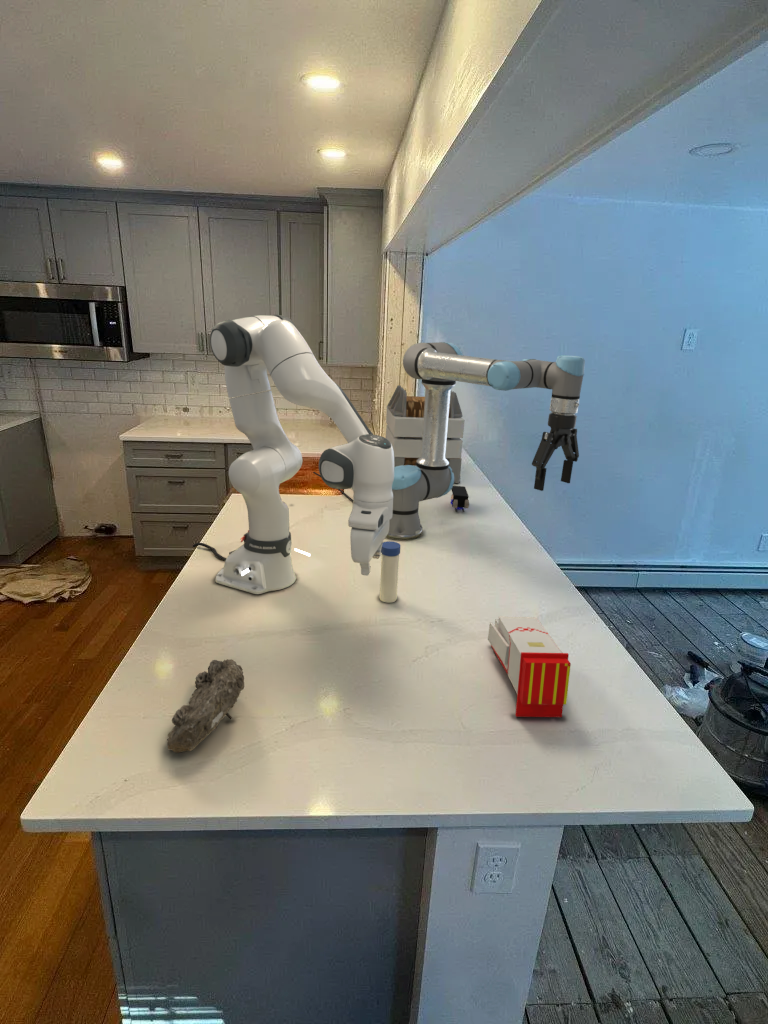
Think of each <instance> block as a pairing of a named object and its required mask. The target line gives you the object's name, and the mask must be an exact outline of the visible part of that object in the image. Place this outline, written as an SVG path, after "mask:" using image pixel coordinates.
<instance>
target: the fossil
mask: <svg viewBox="0 0 768 1024" xmlns="http://www.w3.org/2000/svg"><path fill="white" fill-rule="evenodd" d="M243 670H244V669H243V667H242V665H240V664H237V662H236V661H235V660H234V659H232V658H231V659H227V658H226V659H224V660H223V661H222V660H217V659H212V660H211V661H210V663H209V665H208V666H207V671H201V672H199V673H198V674H197V675H196V676H195V680H194V684H195V685H194V687H195V689H194V690H193V693H192V694H191V697H190V698H189V700H188V704H184V705H182V706H181V707H180V709H177V710H176V711H175V713H174V715H173V716H172V718H171V723H172V724H173V727H172V730H171V731H170V732H168V734H167V738H166V741H167V742H166V745H167V749H168V750H169V751H173V752H174V753H176V754H178V753H182V752H188V751H189V752H192V751H193V750H195V748H196V747H197V746H199V744H200V743H201V742H203V741H204V740H205V739H206V738H207V737H208V736H209V735H210V734H211V733H212V732H214V730H215V729H217V727H218V726H219V724H220V722H221V721H222V720H223V719H224V718H225V716H226V717H227V719H229V720H233V717H232V715H230V714H229V710H230V709H231V708H234V706H235V704H236V703H237V702H238V699H239V697H240V695H241V693H242V691H243V690H245V689H244V688H245V675H244V671H243Z"/></svg>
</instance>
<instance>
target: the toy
mask: <svg viewBox="0 0 768 1024" xmlns="http://www.w3.org/2000/svg"><path fill="white" fill-rule="evenodd" d="M488 625H489V627H488V633H487V641H488V642H489V644H490V646H491V647H490V648H491V649H492V650H493V652H494V654H495V656H496V658H497V659H498V660H499V662H500V664H501V666H502V668H503V669H504V671H505V673H506V674H507V676H508V678H509V680H510V682H511V685H512V686H513V689H514V690H515V693H516V704H515V717H516V718H517V717H518V718H519V717H520V718H521V717H522V718H563V710H564V705H567V701H568V692H569V685H570V684H569V683H570V676H571V675H570V674H571V666H572V664H571V661H570V660H569V655H570V654H569V653H568V652H563V651H562V649H561V648H560V647H559V646H558V644H557V643H556V642H555V640H554V639H553V638H552V636H551V635H550V634H549V632H548V631H547V629H546V628H545V627H544V626H543V624H542V622H541V621H540V620H539V619H538V618H537V616H498V618H496V619H494V623H493V622H489V624H488Z"/></svg>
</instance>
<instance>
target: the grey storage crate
mask: <svg viewBox="0 0 768 1024" xmlns="http://www.w3.org/2000/svg"><path fill="white" fill-rule="evenodd" d="M407 394H408V393H407V390H406V389H404V388H403V387H402V385H399V384H398V385H397V386H396V388H395V390H394V392H393V394H392V395H391V398H390V400H389V402H388V404H387V405H386V413H385V414H386V415H385V423H386V428H385V438H386V439H387V440H389V441H390V442H391V444H392V447H393V451H394V467H396V466H401V465H404V466H405V465H413V466H416V461H417V459H418V458H420V457H421V449H422V434H423V419H424V404H425V396H415V395H414V396H413V395H412V396H411V395H407ZM464 429H465V419H464V418H463V411H462V408H461V405H460V402H459V398H458V395H457V392H455V391H453V390H451V392H450V404H449V416H448V428H447V441H446V453H445V458H446V459H447V461H448V462H449V466H450V467H451V469H452V473H454V484H455V483H456V484H459V483H461V472H462V461H463V460H462V453H463V442H464V441H463V440H462V439H463V438H464V431H465V430H464Z"/></svg>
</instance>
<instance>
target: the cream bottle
mask: <svg viewBox="0 0 768 1024" xmlns="http://www.w3.org/2000/svg"><path fill="white" fill-rule="evenodd" d="M399 567H400V554H399V555H397V556H386V555H383V554H382V553H381V556H380V578H379V580H380V581H379V600H380V601H381V602H383V603H394V602H396V601H397V600H398V584H399Z"/></svg>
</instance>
